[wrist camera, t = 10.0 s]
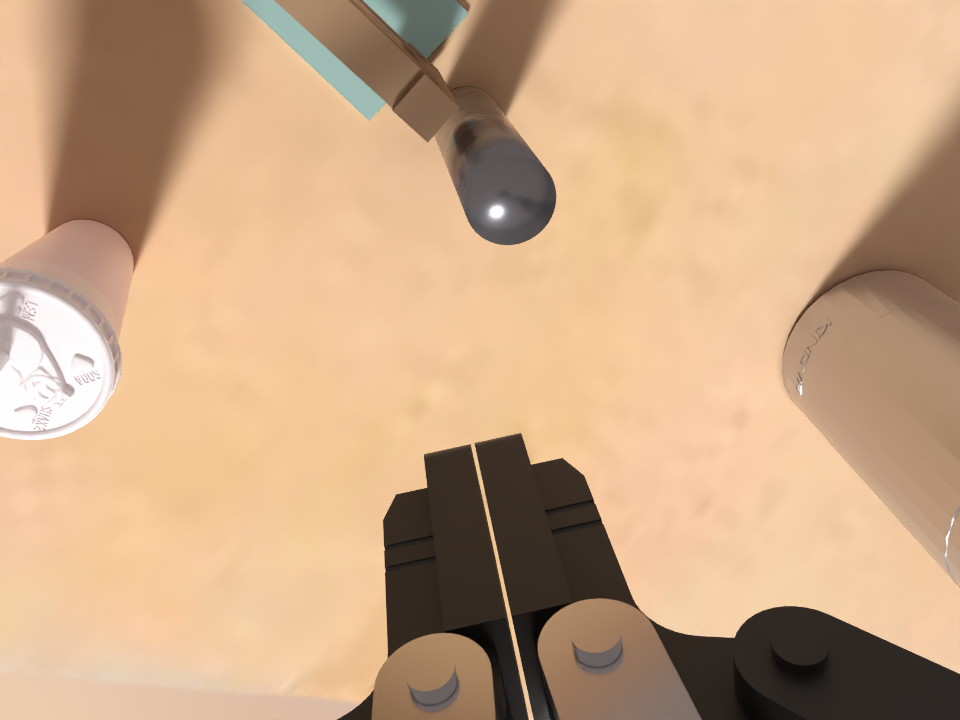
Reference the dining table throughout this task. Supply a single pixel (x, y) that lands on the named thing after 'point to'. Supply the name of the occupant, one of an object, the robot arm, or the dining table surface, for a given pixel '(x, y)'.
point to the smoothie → (61, 329)
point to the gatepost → (495, 171)
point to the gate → (379, 59)
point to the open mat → (400, 3)
